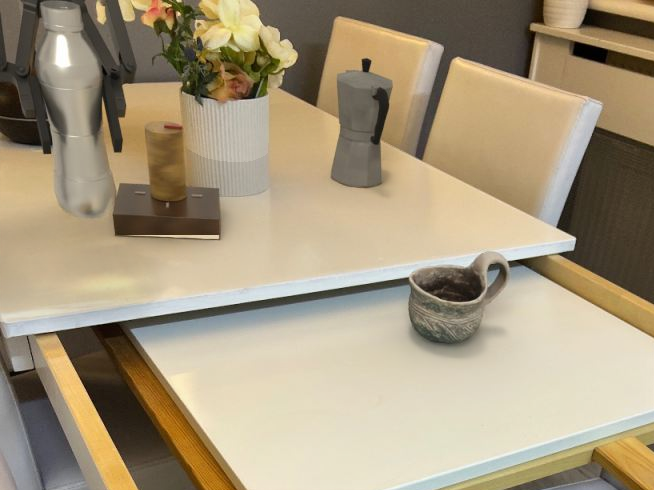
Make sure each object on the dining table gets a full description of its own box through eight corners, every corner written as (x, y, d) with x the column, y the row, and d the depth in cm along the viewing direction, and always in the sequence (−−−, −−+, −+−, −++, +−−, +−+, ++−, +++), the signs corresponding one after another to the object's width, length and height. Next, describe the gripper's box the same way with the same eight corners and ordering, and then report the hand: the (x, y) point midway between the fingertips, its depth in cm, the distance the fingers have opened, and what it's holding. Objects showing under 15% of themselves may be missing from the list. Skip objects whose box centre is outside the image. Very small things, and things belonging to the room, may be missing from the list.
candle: (149, 200, 109) (143, 129, 102) (151, 186, 112) (145, 117, 106) (186, 202, 110) (182, 132, 103) (187, 188, 113) (183, 120, 107)
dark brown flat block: (114, 235, 106) (112, 212, 104) (122, 200, 115) (120, 178, 113) (219, 240, 109) (219, 217, 107) (219, 205, 118) (219, 184, 115)
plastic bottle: (62, 228, 84) (27, 12, 70) (54, 202, 88) (19, -5, 75) (124, 224, 86) (101, 15, 73) (113, 200, 91) (90, -2, 77)
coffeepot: (316, 164, 135) (323, 46, 123) (367, 162, 138) (377, 47, 126) (349, 199, 125) (359, 75, 113) (402, 196, 128) (418, 75, 116)
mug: (386, 322, 97) (396, 245, 90) (465, 304, 103) (480, 230, 96) (431, 361, 92) (446, 282, 85) (512, 340, 98) (531, 264, 91)
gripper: (131, -46, 86) (174, 161, 86) (-65, -60, 79) (-17, 166, 79) (135, -99, 79) (182, 127, 79) (-78, -119, 72) (-26, 129, 72)
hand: (83, 146), depth 79 cm, fingers closed on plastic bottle, 6 cm apart
